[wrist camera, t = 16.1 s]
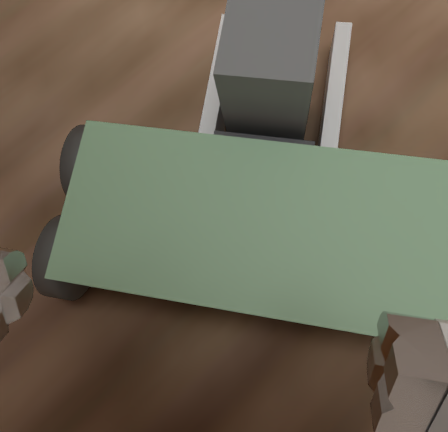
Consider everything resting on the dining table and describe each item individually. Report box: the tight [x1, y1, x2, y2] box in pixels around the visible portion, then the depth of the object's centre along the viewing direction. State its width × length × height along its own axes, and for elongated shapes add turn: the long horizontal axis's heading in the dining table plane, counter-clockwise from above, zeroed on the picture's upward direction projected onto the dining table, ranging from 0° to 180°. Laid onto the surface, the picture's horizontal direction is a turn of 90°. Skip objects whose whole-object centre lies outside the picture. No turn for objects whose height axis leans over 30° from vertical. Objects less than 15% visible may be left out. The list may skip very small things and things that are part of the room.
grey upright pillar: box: [213, 0, 325, 140], centre depth 24 cm, size 4×4×10 cm
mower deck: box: [32, 14, 448, 337], centre depth 25 cm, size 23×20×6 cm
